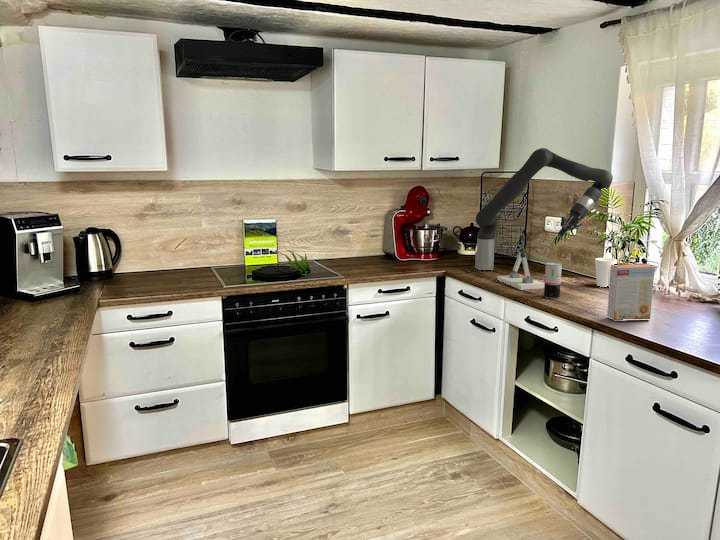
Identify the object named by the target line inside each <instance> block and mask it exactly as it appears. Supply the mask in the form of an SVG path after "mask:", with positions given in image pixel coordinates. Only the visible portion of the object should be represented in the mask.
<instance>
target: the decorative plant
mask: <svg viewBox="0 0 720 540" xmlns="http://www.w3.org/2000/svg"><path fill="white" fill-rule="evenodd" d="M284 248H285V250H286V251H287V252H289V253H290V254H291V255H292V257H293V260H294V262H293V261H292V259H291V258H290V257H289V256H288V255H287V254H284V253H281V252H279V251H276V250H274V249H272V251H273V252H276V253H278V254H280V255H283V256H285V258H286V259H287V261H288V262H289V264H290V266H289V268H291V269H292V268H295V269H297V270H299V271H300V272H301V274H302V275H301V274H300V275H301V276H303V274H306V273H307V275H311V269H310V264H309V261H308V257H307V253H306V252H305V251H304V249H302V251H303V253H304V257H303V255H300V254H298V253H297V251H295V253H294V251H293V250H292V248H290V250H288V249H287V248H286V247H284ZM296 255H297V256H298V257H299V258H300V261H301V263H300V261H298V258H297V256H296Z"/></svg>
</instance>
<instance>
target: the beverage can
mask: <svg viewBox="0 0 720 540" xmlns="http://www.w3.org/2000/svg"><path fill="white" fill-rule="evenodd" d="M544 270H545V271H544V283H545V286H544V288H543V289H544V290H543V296H544V298H546V299H549V298H550V299H551V300H556V299H555V298H557V299H559V298H560V297H561V284H562V283H561V282H562V281H561V279H562V263H560V262H554V261H553V262H546V263H545V269H544Z"/></svg>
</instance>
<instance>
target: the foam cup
mask: <svg viewBox="0 0 720 540" xmlns="http://www.w3.org/2000/svg"><path fill="white" fill-rule="evenodd" d="M614 264H617V265H618V260H617V259H616V258H613V257H596V258H595V259H594V265H595V281H596V283H595V284H596V287H597V286H600V287H599V288H601V287H607V286H608V272H609V271H608V270H609V269H610V266H611V265H614Z"/></svg>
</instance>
